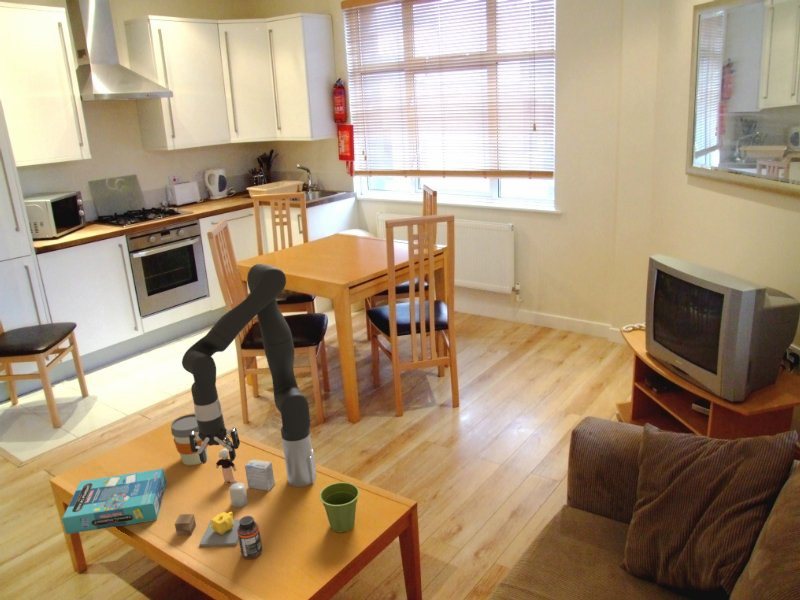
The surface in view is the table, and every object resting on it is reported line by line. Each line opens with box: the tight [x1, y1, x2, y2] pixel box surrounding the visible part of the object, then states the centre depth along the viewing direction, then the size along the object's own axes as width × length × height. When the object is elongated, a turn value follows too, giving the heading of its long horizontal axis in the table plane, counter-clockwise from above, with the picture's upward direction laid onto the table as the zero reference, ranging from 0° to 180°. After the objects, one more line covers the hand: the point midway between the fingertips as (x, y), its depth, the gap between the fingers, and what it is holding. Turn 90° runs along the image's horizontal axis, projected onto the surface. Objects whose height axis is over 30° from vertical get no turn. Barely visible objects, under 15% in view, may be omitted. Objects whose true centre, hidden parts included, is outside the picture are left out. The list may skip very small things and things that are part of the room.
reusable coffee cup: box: [170, 413, 209, 466], centre depth 240 cm, size 12×13×15 cm
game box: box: [61, 468, 167, 535], centre depth 215 cm, size 20×6×27 cm
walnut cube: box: [174, 513, 197, 537], centre depth 202 cm, size 4×4×4 cm
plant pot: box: [319, 481, 361, 533], centre depth 198 cm, size 12×12×11 cm
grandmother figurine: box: [215, 448, 238, 486], centre depth 224 cm, size 8×4×13 cm, turn 84°
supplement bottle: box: [237, 515, 263, 560], centre depth 189 cm, size 6×6×11 cm
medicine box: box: [244, 459, 276, 492], centre depth 221 cm, size 8×4×9 cm, turn 71°
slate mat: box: [198, 518, 241, 547], centre depth 200 cm, size 11×11×1 cm
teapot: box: [210, 511, 235, 535], centre depth 199 cm, size 8×6×5 cm
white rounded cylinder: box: [228, 482, 249, 509], centre depth 213 cm, size 5×5×6 cm
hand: (218, 461), depth 202 cm, fingers open, 8 cm apart
